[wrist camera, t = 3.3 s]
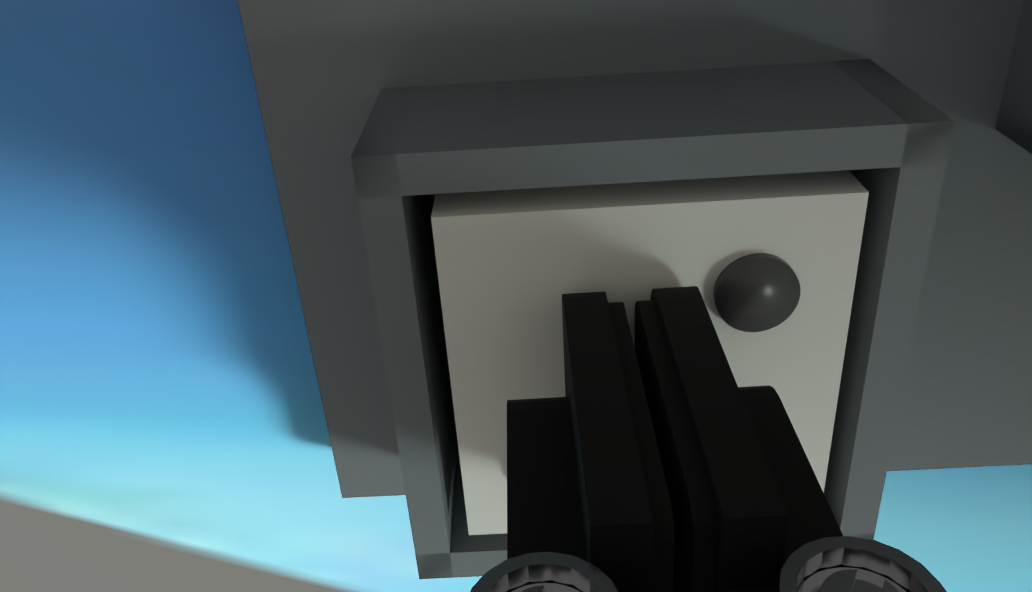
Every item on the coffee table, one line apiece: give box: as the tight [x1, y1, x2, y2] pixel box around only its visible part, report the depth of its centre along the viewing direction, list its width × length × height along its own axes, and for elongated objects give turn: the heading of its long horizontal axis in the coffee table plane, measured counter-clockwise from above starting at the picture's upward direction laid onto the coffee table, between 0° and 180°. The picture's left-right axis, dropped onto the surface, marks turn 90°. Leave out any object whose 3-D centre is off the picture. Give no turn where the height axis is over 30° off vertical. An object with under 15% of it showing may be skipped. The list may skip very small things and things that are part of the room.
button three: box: [431, 170, 869, 535], centre depth 12 cm, size 5×5×2 cm
